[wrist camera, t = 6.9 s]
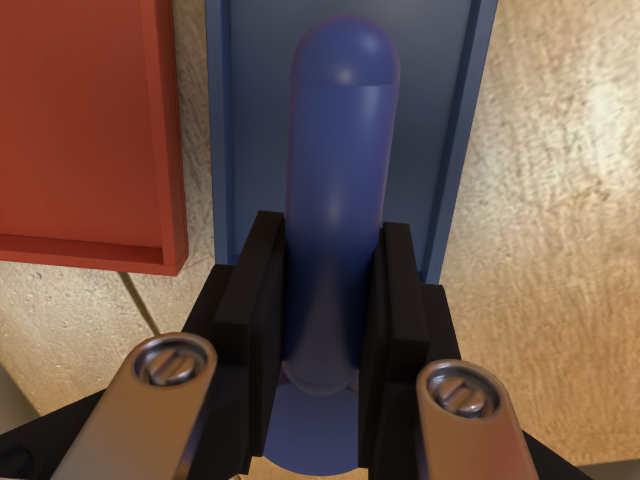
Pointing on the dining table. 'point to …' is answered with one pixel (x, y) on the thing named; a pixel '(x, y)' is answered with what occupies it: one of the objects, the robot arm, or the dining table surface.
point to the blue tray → (410, 119)
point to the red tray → (91, 136)
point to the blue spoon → (331, 236)
